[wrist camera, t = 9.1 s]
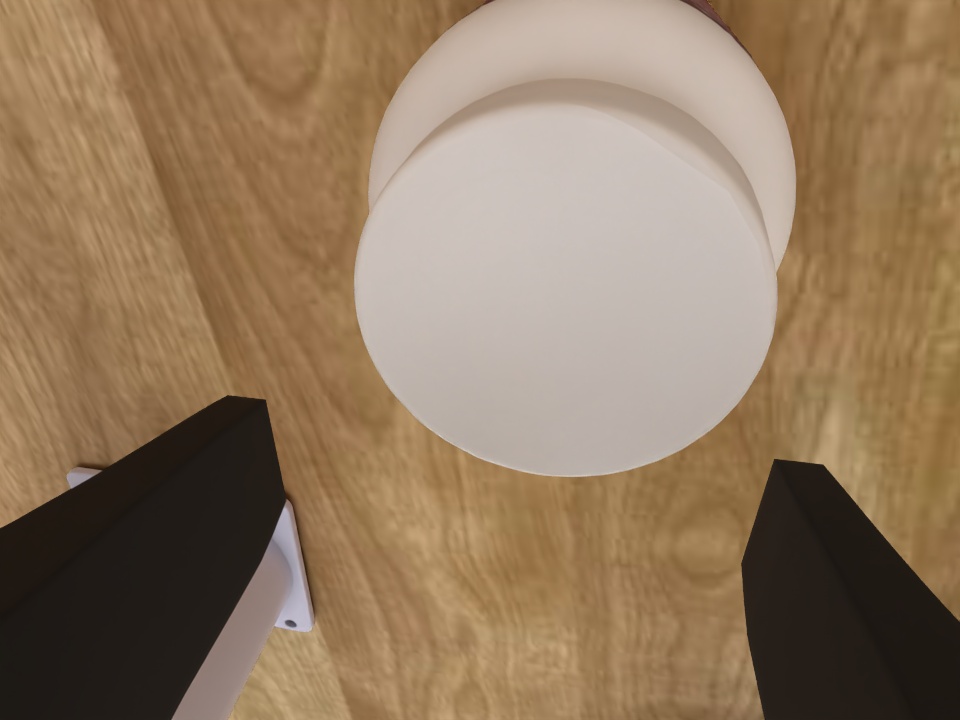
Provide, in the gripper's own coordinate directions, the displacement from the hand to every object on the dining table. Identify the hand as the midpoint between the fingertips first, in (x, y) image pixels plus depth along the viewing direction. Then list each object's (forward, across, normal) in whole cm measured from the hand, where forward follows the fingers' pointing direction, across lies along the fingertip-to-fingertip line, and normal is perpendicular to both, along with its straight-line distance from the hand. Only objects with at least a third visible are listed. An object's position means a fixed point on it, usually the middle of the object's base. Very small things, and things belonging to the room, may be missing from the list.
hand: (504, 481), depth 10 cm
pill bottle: (+10, -1, -3) cm, 11 cm away
